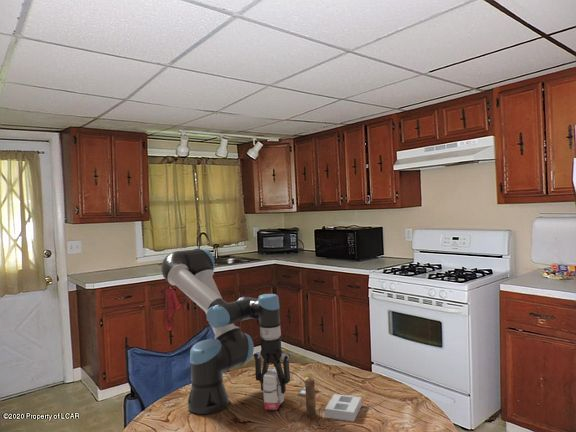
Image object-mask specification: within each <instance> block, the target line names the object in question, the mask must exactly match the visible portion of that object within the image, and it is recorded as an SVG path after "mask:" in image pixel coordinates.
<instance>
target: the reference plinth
mask: <svg viewBox="0 0 576 432" xmlns="http://www.w3.org/2000/svg"><path fill="white" fill-rule="evenodd" d="M308 379H310V377H308V376H306V377H304V381H305V380H308ZM297 396H301V397H306V390H305V385H303V387H302V388H301V389H300V390H299V391H298V392H297Z"/></svg>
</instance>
